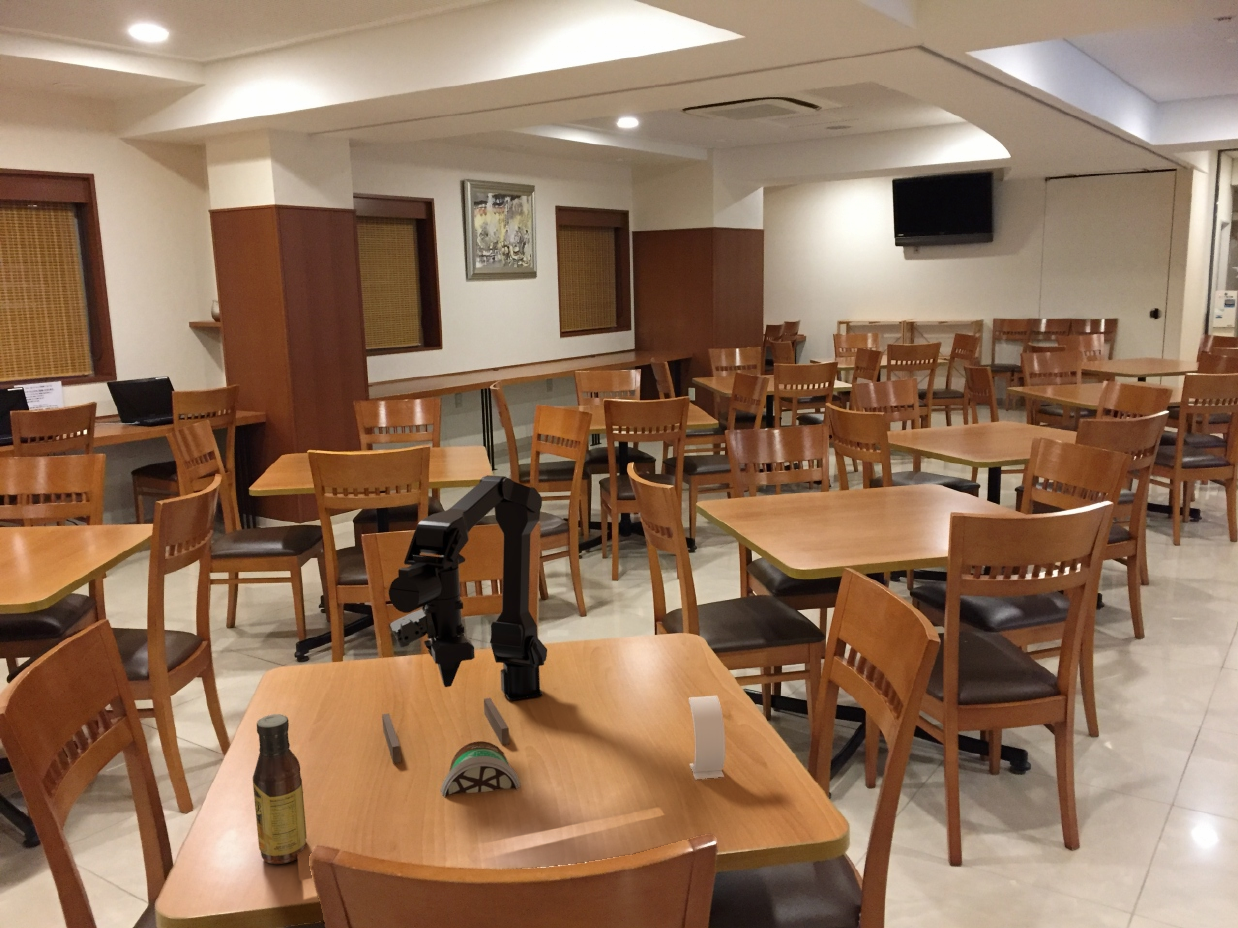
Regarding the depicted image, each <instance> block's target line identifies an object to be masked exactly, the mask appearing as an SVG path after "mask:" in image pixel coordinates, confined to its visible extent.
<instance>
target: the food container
mask: <svg viewBox="0 0 1238 928" xmlns="http://www.w3.org/2000/svg"><path fill="white" fill-rule="evenodd" d="M449 766H450V767H449V771H448V772H447V775H446V776H445V778H444V780H443V782H442V785H441V789H440V793H441V795H442V796H443V798H446V796H450V795H457V794H459V795H460V794H470V793H471V794H473V793H475V794H476V793H486V792H490V791H491V792H492V791H497V790H499V791H500V790H507V789H516V790H517V791H518V790H519V789H520V786H521V782H520V779H519V776H518V774H517V772H516V771H515V770H514V768H513V767H511V765H510V764H509V761H508V759H507V757H506V755H505V753H504V751H502V749H500V747H499V746H497V745H496V744H494V743H491V742H489V741H488V742H487V741H481V740H480V741H478V740H477V741H473V742H470V743H468V744H466V745H463V747H462V748H460V749H459V750H457V752H456V753H455V754H454V756H453V758H452V760H451V763H450V765H449Z"/></svg>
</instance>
